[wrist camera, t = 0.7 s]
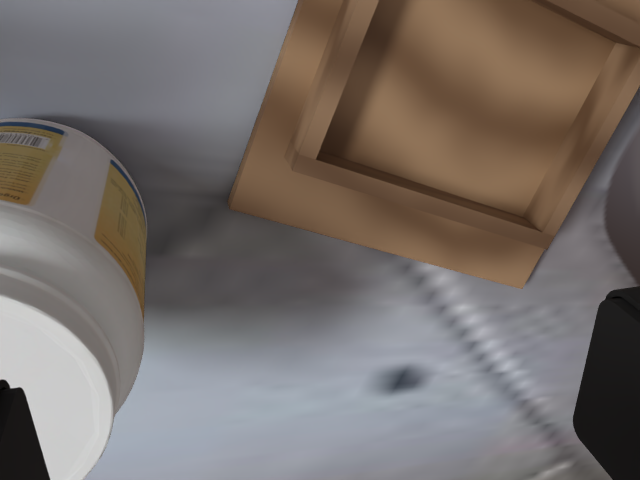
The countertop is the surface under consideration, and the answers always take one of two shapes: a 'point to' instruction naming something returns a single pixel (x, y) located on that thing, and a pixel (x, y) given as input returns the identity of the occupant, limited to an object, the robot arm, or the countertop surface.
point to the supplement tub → (69, 286)
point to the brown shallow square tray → (440, 124)
